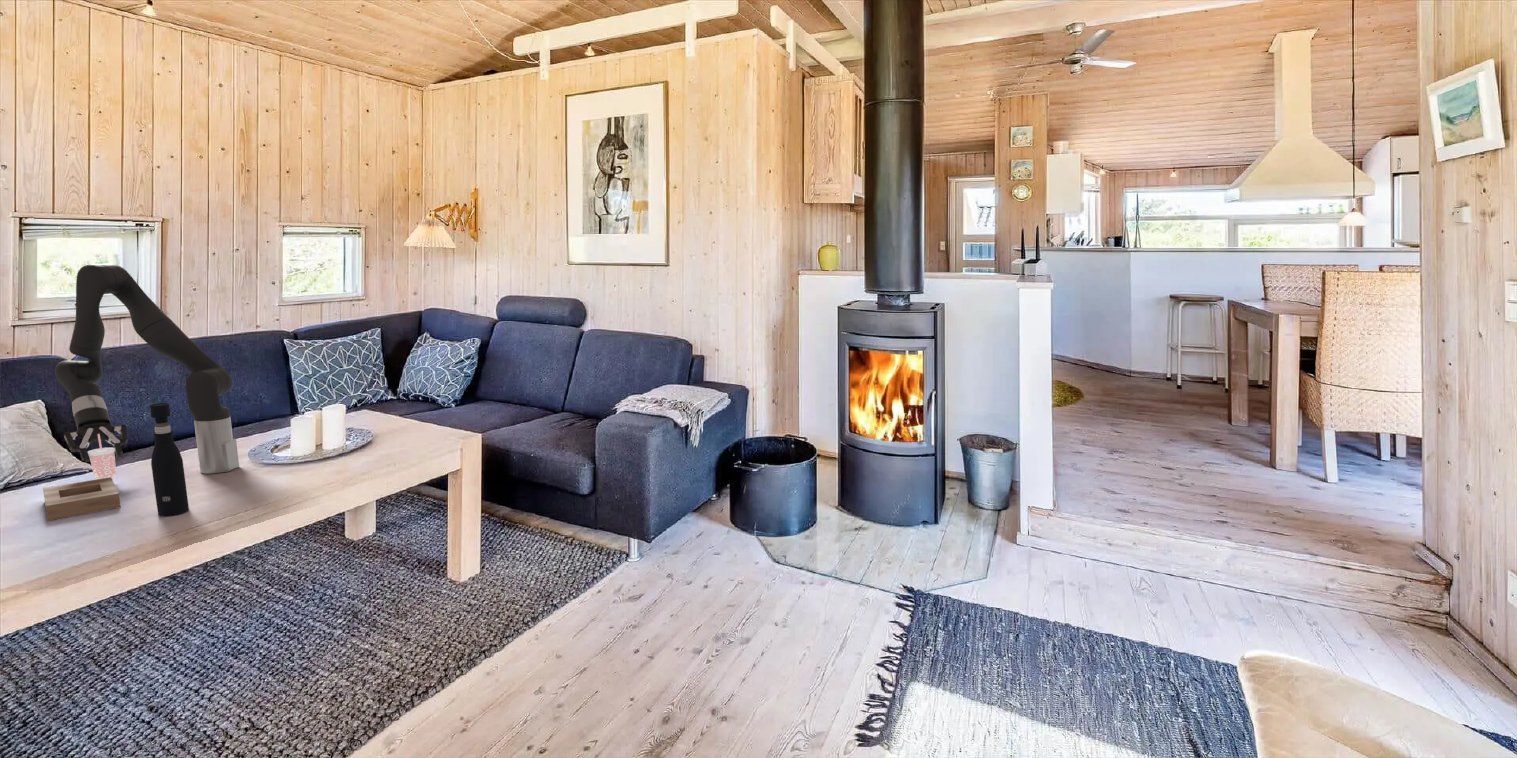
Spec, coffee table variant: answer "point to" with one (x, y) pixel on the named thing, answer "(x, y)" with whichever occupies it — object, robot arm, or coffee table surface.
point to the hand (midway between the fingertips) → (103, 458)
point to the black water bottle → (167, 466)
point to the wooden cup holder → (80, 498)
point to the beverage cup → (103, 461)
